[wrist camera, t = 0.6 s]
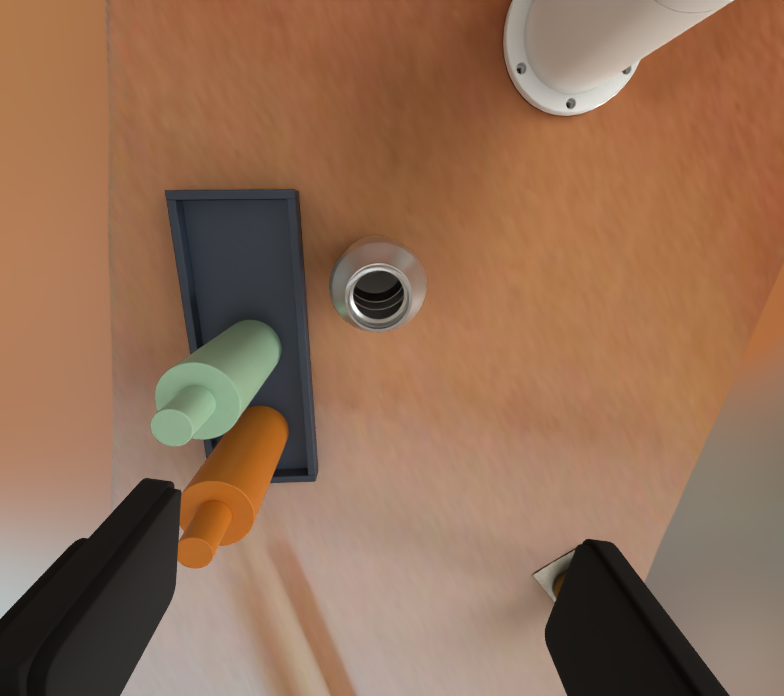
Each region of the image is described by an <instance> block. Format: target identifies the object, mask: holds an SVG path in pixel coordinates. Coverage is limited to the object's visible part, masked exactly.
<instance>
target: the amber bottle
mask: <svg viewBox="0 0 784 696" xmlns="http://www.w3.org/2000/svg"><path fill="white" fill-rule="evenodd" d="M288 436H289V427H288V424H287V421H286V420H285V418H284V417H283V416H282V414H281V413H279V412H278V411H277V410H275V409H273V408H271V407H268V406H260V405H258V406H252V407H249V408H247V409H245V410H244V412H243V413H242V414H241V416H240V417H239V419H238V420H237V422H236V423H235V424H234V426H233V427H232V428H231V429H230V430H229V431H227V432H226V433H225V434H224V436H223V437H222V439H221V440H220V441H219V443H218V444H217V446H216V447H215V448H214V450H213V451H212V452H211V454H210V455H209V457H208V458H207V459H206V461H205V462H204V464H203V465H202V466H201V468H200V469H199V471H198V472H197V473H196V475H195V476H194V477H193V479H192V480H191V482H190V483H189V484H188V486H187V487H186V489H185V490H184V491H183V493H182V494H181V509H180V526H181V528H182V529H183V530H184V533H183V535H182V537H181V538H180V540H179V542H178V557H177V560H178V561H179V562H180V563H181V564H182V565H184V566H186V567H189V568H202V567H204V566H206V565H208V564H209V563H210V562H211V561H212V559H213V557H214V555H215V553H216V550H217V548H218V546H224V545H229V544H232V543H235V542H237V541H239V540H241V539H242V538H243V537H245V536H246V535H247V534H248V533H249V531H250V530H251V528H252V526H253V523H254V521H255V518H256V516H257V514H258V511H259V509H260V506H261V504H262V501H263V499H264V496H265V494H266V491H267V489H268V486H269V484H270V481H271V479H272V476H273V474H274V471H275V469H276V466H277V464H278V462H279V459H280V457H281V454H282V452H283V449H284V447H285V444H286V442H287V439H288Z"/></svg>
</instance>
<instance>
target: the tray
mask: <svg viewBox="0 0 784 696" xmlns="http://www.w3.org/2000/svg"><path fill="white" fill-rule="evenodd" d="M165 195H166V200H167V206H168V213H169V219H170V226H171V232H172V239H173V245H174V252H175V258H176V265H177V271H178V278H179V284H180V290H181V297H182V303H183V310H184V316H185V323H186V329H187V336H188V342H189V349H190V355H191V354H192V353H194V352H195V351H196V350H198V349H199V348H201V347H202V346H204V345H205V344H207V343H208V342H209V341H211V340H212V339H214V338H215V337H217V336H218V335H220V334H221V333H223V332H224V331H225V330H227V329H228V328H230V327H231V326H233V325H234V324H236V323H238V322H240V321H244V320H256V321H260V322H263V323H265V324H267V325H268V326H270V327H271V328H272V329H273V330H274V331H275V332H276V334H277V335H278V337H279V339H280V342H281V347H282V352H281V357H280V360H279V362H278V363H277V365H276V366H275V368H274V369H273V371H272V372H271V373H270V375H269V376H268V378H267V379H266V380H265V382H264V383H263V385H262V386H261V388H260V389H259V390H258V392H257V393H256V395H255V396H254V397H253V399H252V400H251V402H250V403H249V405H248V406H247V407H246V409H247V408H249V407H252V406H258V405H260V406H268V407H271V408H273V409H275V410H277V411H278V412H279V413H281V414H282V416H283V417H284V418H285V420H286V421H287V424H288V427H289V436H288V439H287V442H286V444H285V447H284V449H283V452H282V454H281V457H280V459H279V462H278V464H277V466H276V469H275V471H274V474H273V476H272V479H271V481H270V483H285V482H313V481H316V478H317V473H318V462H317V448H316V434H315V419H314V405H313V390H312V376H311V362H310V347H309V333H308V319H307V304H306V290H305V275H304V261H303V247H302V232H301V218H300V204H299V192H298V191H296V190H165ZM224 434H225V433H224ZM224 434H223V435H221V436H218V437H215V438H211V439H204V445H205V452H206V458H208V457H209V455H210V454H211V452H212V451H213V450H214V448H215V447H216V446H217V444H218V443H219V441H220V440H221V439H222V437H223V436H224Z"/></svg>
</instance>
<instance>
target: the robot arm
mask: <svg viewBox="0 0 784 696" xmlns="http://www.w3.org/2000/svg"><path fill="white" fill-rule="evenodd" d="M732 1H734V0H512V2H511V4H510V7H509V9H508V12H507V16H506V21H505V25H504V35H503V49H504V58H505V63H506V66H507V70H508V73H509V75H510V77H511V80H512V82H513V84H514V86H515V87H516V89H517V90H518V91H519V92H520V94H521V95H522V96H523V98H525V99H526V100H527V101H528V102H529V103H530V104H531V105H533V106H534V107H536V108H538V109H540V110H542V111H543V112H546V113H550V114H554V115H561V116H571V115H577V114H582V113H585V112H588V111H590V110H593V109H595V108H597V107H598V106H600V105H602V104H604V103H605V102H607V101H608V100H609V99H611V98H612V97H613V96H615V95H616V94H617V93H618V92H619V91H620V90H621V89H622V88H623V87H624V86H625V85H626V83H627V82H628V81H629V79H630V78H631V76H632V75H633V73H634V72H635V70H636V68H637V66H638V63H639V61H640V59H642V58H644V57H645V56H647V55H648V54H650V53H651V52H653V51H655V50H656V49H658V48H659V47H661V46H663V45H664V44H666V43H667V42H669V41H670V40H672V39H674V38H675V37H677V36H678V35H680V34H682V33H683V32H685V31H686V30H688V29H689V28H691V27H693V26H694V25H696V24H697V23H699V22H701V21H702V20H704V19H705V18H707V17H708V16H710V15H712V14H713V13H715V12H716V11H718V10H720V9H721V8H723V7H724V6H726V5H727V4H729V3H731V2H732ZM517 69H519V70H520V72H521V73H520V74H519V73H518V72H517ZM622 71H623V72H622ZM566 103H567V104H568V105H569V108H567V106H566ZM180 509H181V490H178V489H174V483H173V482H171V481H164V480H157V479H149V478H145V479H143V480H142V481H141V482H140V483H139V484H138V485H137V486H136V487H135V488H134V489H133V490H132V491H131V493H130V494H129V495H128V496H127V497H126V498H125V499H124V500H123V501H122V502H121V503H120V505H119V506H118V507H117V508H116V509H115V510H114V511H113V512H112V513H111V514H110V515H109V517H108V518H107V519H106V520H105V521H104V522H103V523H102V524H101V525H100V526H99V528H98V529H97V530H96V531H95V532H94V533H93V534H92V535H91V536H90V537H89V538H88V539H87V538H81V539H79V540H77V541H75V542H74V543H73V544H72V545H71V546H69V547H68V548H67V550H66V551H65V552H64V553H63V554H62V555H61V556H60V557H59V558H58V559H57V560H56V561H55V562H54V563H53V564H52V565H51V566H50V567H49V569H47V571H46V572H45V573H44V574H43V575H42V576H41V577H40V578H39V579H38V580H37V581H36V582H35V583H34V584H33V585H32V586H31V587H30V588H29V589H28V590H27V592H26V593H25V594H24V595H23V596H22V597H21V598H20V599H19V600H18V601H17V602H16V603H15V604H14V605H13V606H12V607H11V608H10V609H9V610H8V611H7V613H6V614H5V615H4V616H3V617H2V618H1V619H0V696H120V695H121V693H122V691H123V689H124V687H125V685H126V684H127V682H128V680H129V678H130V676H131V674H132V672H133V671H134V669H135V667H136V665H137V663H138V661H139V660H140V658H141V656H142V654H143V652H144V650H145V648H146V647H147V645H148V643H149V641H150V639H151V637H152V636H153V634H154V632H155V630H156V628H157V626H158V624H159V623H160V621H161V619H162V617H163V615H164V613H165V612H166V610H167V608H168V606H169V604H170V602H171V600H172V597H173V594H174V591H175V586H176V573H177V557H178V541H179V525H180ZM545 641H546V645H547V647H548V650H549V652H550V655H551V657H552V660H553V662H554V664H555V667H556V669H557V672H558V674H559V677H560V679H561V681H562V684H563V686H564V689H565V691H566V694H567V696H729V694H728V693H727V692H726V690H725V689H724V688H723V686H722V685H721V684H720V683H719V681H718V680H717V679H716V677H715V676H714V675H713V673H712V672H711V671H710V669H709V668H708V667H707V665H706V664H705V663H704V661H703V660H702V659H701V658H700V656H699V655H698V653H697V652H696V651H695V649H694V648H693V647H692V646H691V644H690V643H689V642H688V640H687V639H686V638H685V636H684V635H683V634H682V632H681V631H680V630H679V629H678V627H677V626H676V625H675V623H674V622H673V620H672V619H671V618H670V617H669V615H668V614H667V613H666V611H665V610H664V609H663V607H662V606H661V605H660V603H659V602H658V601H657V600H656V598H655V597H654V595H653V594H652V593H651V592H650V590H649V589H648V588H647V586H646V585H645V584H644V582H643V581H642V580H641V578H640V577H639V576H638V574H637V573H636V572H635V570H634V569H633V568H632V566H631V565H630V564H629V562H628V561H627V560H626V558H625V557H624V556H623V555H622V553H621V552H620V551H619V549H618V548H617V547H616V546H615V545H614V544H613V543H611V542H607V541H600V540H593V539H586V540H585V541H584V542H583V543H582V544H580V545H578V546H577V547H576V549H575V552H574V554H573V557H572V560H571V562H570V565H569V567H568V570H567V573H566V575H565V578H564V580H563V583H562V586H561V588H560V591H559V593H558V596H557V599H556V601H555V604H554V606H553V609H552V612H551V614H550V617H549V619H548V622H547V625H546V628H545Z"/></svg>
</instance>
